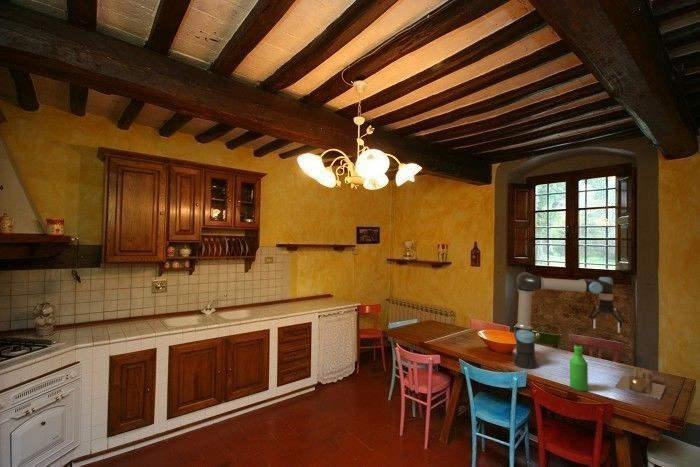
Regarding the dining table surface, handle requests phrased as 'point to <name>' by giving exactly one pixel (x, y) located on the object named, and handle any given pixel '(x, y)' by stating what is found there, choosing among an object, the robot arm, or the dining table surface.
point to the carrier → (640, 386)
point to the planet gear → (643, 374)
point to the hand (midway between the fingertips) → (606, 330)
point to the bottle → (578, 371)
